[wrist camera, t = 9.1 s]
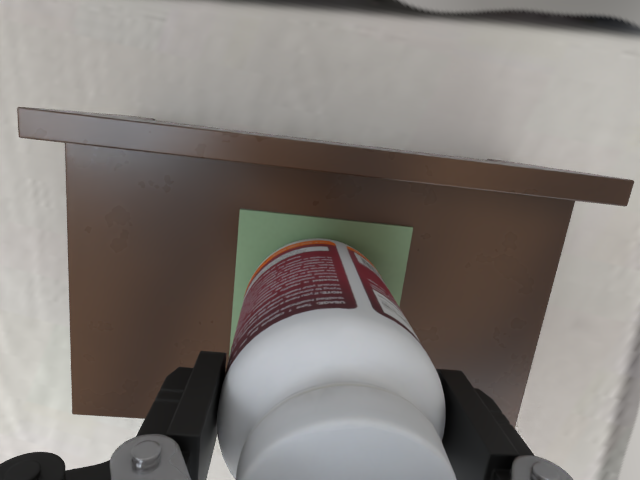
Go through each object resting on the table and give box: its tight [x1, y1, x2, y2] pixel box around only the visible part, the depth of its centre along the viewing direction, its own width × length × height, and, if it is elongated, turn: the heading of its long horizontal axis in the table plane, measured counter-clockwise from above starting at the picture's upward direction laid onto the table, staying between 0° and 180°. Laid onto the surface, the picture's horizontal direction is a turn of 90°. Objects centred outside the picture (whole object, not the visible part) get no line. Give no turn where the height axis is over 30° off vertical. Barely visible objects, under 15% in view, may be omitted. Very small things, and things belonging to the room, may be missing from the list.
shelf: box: [17, 107, 634, 429], centre depth 21 cm, size 22×14×9 cm, turn 83°
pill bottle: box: [217, 238, 457, 480], centre depth 14 cm, size 6×6×11 cm
